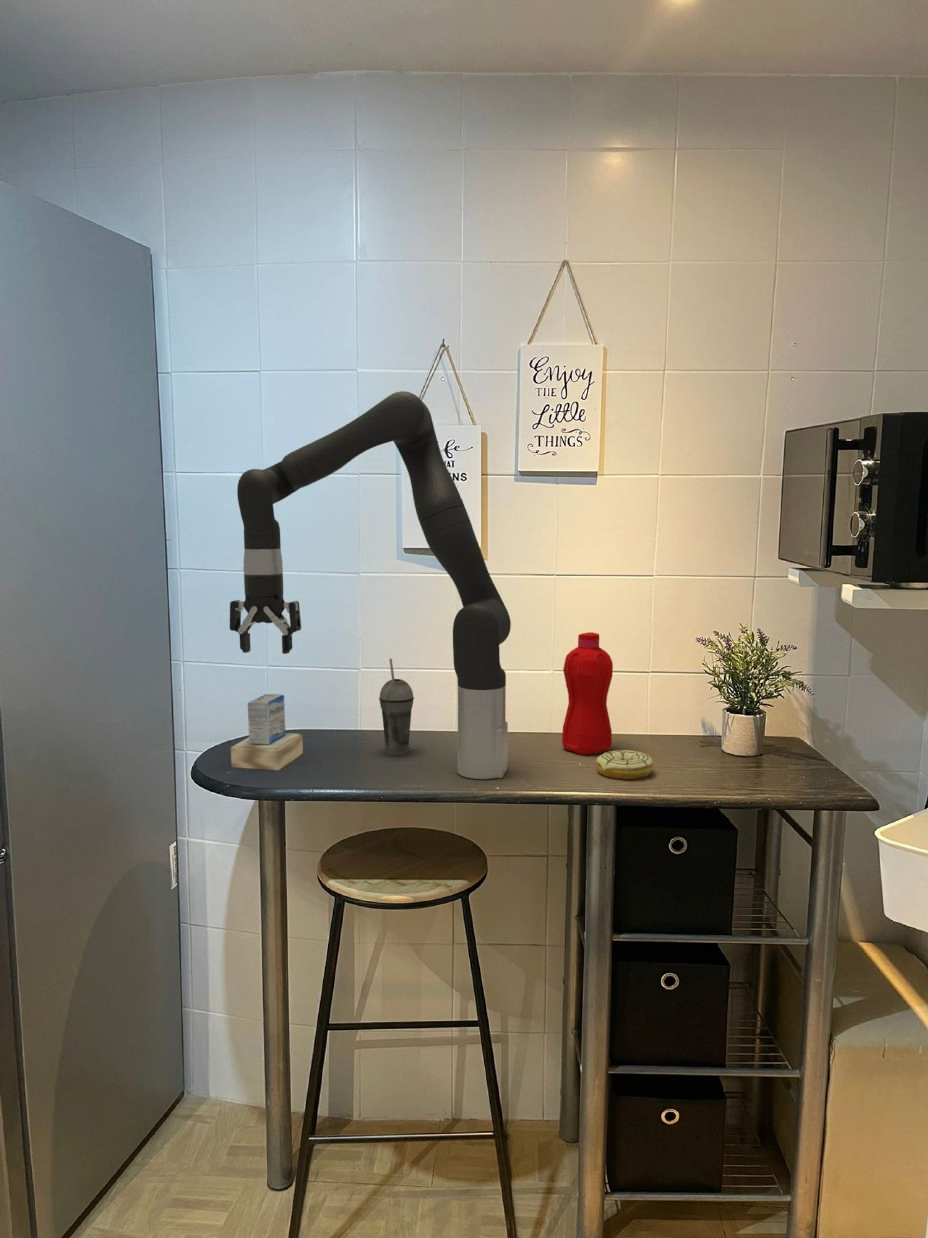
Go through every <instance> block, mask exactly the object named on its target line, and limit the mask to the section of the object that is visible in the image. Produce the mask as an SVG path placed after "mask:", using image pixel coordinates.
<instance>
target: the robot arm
mask: <svg viewBox="0 0 928 1238" xmlns="http://www.w3.org/2000/svg"><path fill="white" fill-rule="evenodd" d="M431 414H432V413H431V412H430V410H429V408H428V406H427V405H426V403H424V401H422V400H421V398H420V397H419V396H418V395H416V394H414V393H413V392H410V391H395V392H394V393H392V394H390V395H389V396H387V397H385V398H383V399H382V400H380V401H379V402H378V403H377V404H375V405H374V406H372V407H371V408H370V409H368V410H367V411H365V412H364V413H362V414H361V415H359V416H358V417H356V418H355V419H353V420H351V421H350V422H348V423H347V424H345V425H343V426H342V427H340V428H338V429H337V430H334V431H332V432H331V433H329V434H327V435H325V436H322V437H321V438H320V437H319V438H318V439H316V440H314V441H312V442H310V443H307V444H306V445H303V446H301V447H299V448H297V449H295V450H294V451H291V452H290V453H288V454H286V455H284V457H283V458H282V459H281V461H279V462H277V463H275V464H273V465H270V466H268V467H266V468H264V469H261V468H251V469H248V470H246V471H245V472H243V473H242V475H240V477H239V479H238V482H237V488H236V489H237V490H236V491H237V493H236V494H237V495H236V496H237V503H238V508H239V511H240V517H241V520H242V521H241V522H242V524H243V548H244V550H243V553H244V554H243V567H242V568H243V569H242V570H243V579H244V580H243V581H244V583H243V584H244V597H245V599H244V600H243V601H241V600H240V599H235V600H231V601H230V603H229V630H230V631H232V632H233V631H234V632H237V634H238V635H239V648H240V650H241V651H242V653H245V654H246V653H250V652H251V633H249V631H250V630H251V628H252V627H253V626H254V625H255V624H260V623H265V624H272V623H273V624H274V626H276V627H277V628H278V629H279V631H280V632H281V634H282V635H281V651H282V655H284V654H285V655H287V654H289V653H290V651H292V649H293V634H294V633H296V632H298V631H299V632H300V631H301V630H302V621H301V620H302V619H301V611H300V602H299V601H298V600H294V601H289V602H287V601H286V602H285V600H284V572H283V571H284V570H283V569H284V568H283V555H282V549H281V548H282V547H281V527H280V524H279V523H280V522H278V520H277V519H276V517H275V511H274V510H275V509H274V504H277V503H278V502H280V501H283V500H285V499H286V498H288V497H289V496H290V495H292V494H293V493H295V492H297V491H298V490H300V489H302V488H305V487H308V486H309V485H312V484H314V483H316V482H318V481H320V480H322V479H324V478H326V477H327V478H328V477H329V476H331V475H332V474H333V473H335V472H337V471H339V470H340V469H342V468H343V467H345V466H346V465H347V464H348V463H350V462H351V461H352V460H354V459H356V458H357V457H359V455H361V454H363V453H364V452H367V451H368V450H370V449H374V448H375V447H378V446H380V445H384V444H387V443H391V442H393V443H394V445H395V447H396V449H397V450H398V451H397V452H399V454H400V456H401V459H402V461H403V463H404V465H405V467H406V470H407V472H408V477H409V480H410V486H411V492H412V497H413V498H412V499H413V503H414V508H415V512H416V516H417V518H418V522H419V525H420V527H421V530H422V533H423V536H424V538H425V541H426V543H427V545H428V547H429V549H430V551H431V552H432V554H433V555H434V557H435V558H436V560H437V561H438V563H440V565H441V567H442V568H444V571H446V573H447V574H448V576H449V577H450V578H451V580H452V582H453V584H454V586H455V587H456V591H457V592H458V596H459V598H460V601H461V604H462V608H460V610H458V612H457V613H456V615H455V617H454V620H453V624H452V651H453V652H452V653H453V655H452V657H453V669H454V673H455V674H456V677H457V774H459V775H460V776H461V777H463V778H468V779H474V780H490V779H503V778H504V776H505V775H506V773H507V770H508V744H509V743H508V742H509V741H508V739H509V738H508V730H509V728H508V721H506V716H507V715H506V711H507V710H506V709H507V708H506V707H507V706H506V704H507V703H506V702H507V701H506V698H507V697H506V696H507V695H506V693H507V692H506V691H507V687H506V686H507V676H506V671H505V670H504V669H503V668H502V665H501V660H500V659H501V657H500V645H501V644H503V643H504V642H505V641H506V640H507V638H508V637H509V635H510V633H511V628H512V627H511V626H512V622H511V617H510V614H509V611H508V609H507V607H506V605H505V602H504V601H503V599H502V597H501V595H500V593H499V591H498V589H497V588H496V585H495V583H494V581H493V579H492V577H491V575H490V572H489V570H488V568H487V565H486V562H485V558H484V556H483V552H482V551H481V547H480V545H479V541H478V539H477V537H476V533H475V530H474V528H473V525H472V522H471V519H470V517H469V514H468V511H467V509H466V506H465V503H464V502H463V500H462V497H461V494H460V491H459V490H458V487H457V486H456V483H455V481H454V479H453V477H452V475H451V473H450V471H449V469H448V468H447V466H446V464H445V463H446V462H445V461H444V459H443V455H442V452H441V449H440V446H439V442H438V438H437V435H436V434H437V433H436V429H435V427H434V422H433V419H432V418H433V417H432V415H431ZM244 609H245V611H246V613H247V615H246V617H244V619H243V621H242V620H241V619H242V611H243V610H244ZM285 610H286V612H287V613H288V614H289V623H288V619H287V618H286V617H285V615H284V613H283V612H284V611H285ZM241 621H242V622H241Z"/></svg>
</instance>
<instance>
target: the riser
mask: <svg viewBox="0 0 928 1238" xmlns="http://www.w3.org/2000/svg"><path fill="white" fill-rule="evenodd" d="M303 743H304V742H303V734H300V733H291V732H290V733H288V732H287V733H286V732H285V735H284V736H283V737H281V738H279V739H278V740H276V741H275V742H273V743H272V744H270V745H262V744H250V743H249V736H248V737H247V738H245V739H243V740H241V741H239V742H238V743H236V744H233V746H231V747H230V758H231V759H230V760H231V768H237V769H238V768H239V769H252V770H268V771H281V769H283V768H284V767H286V766H287V765H289V764H290V763H291V762H293V761H294V760H296V759H297V758H298V757H300V756H302V754H303V753H304V751H303V750H304V747H303V745H304V744H303Z"/></svg>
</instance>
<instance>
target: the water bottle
mask: <svg viewBox="0 0 928 1238" xmlns="http://www.w3.org/2000/svg"><path fill="white" fill-rule="evenodd" d="M613 667H614V664H613V660H612V658H611V655H610V654H609V653H608V652H607V651H606V650H604V649H603V648H601V647H600V634H599V633H597V632H592V631H590V632H589V631H588V632H583V633H580V634H578V638H577V647H575V648H573V649H572V650H570V652H568V653H567V655H566V656H565V659H564V664H563V669H562V671H563V675H564V680H565V686H566V689H567V695H568V696H567V697H568V698H567V699H568V705H567V710H566V713H565V718H564V721H563V725H562V733H561V734H562V735H561V736H562V737H561V744H562V747H563V748H564V749H565V750H567V751H570V752H574V753H577V754H579V755H582V756H583V755H585V756H592V755H596V754H600V753H606V752H609V750H610V749H611V748H612V744H613V743H612V742H613V738H612V736H613V735H612V733H613V731H612V726H611V721H610V716H609V711H608V706H607V705H608V704H607V703H608V694H609V690H610V686H611V682H612V679H613V670H614V668H613Z"/></svg>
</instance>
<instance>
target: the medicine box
mask: <svg viewBox="0 0 928 1238" xmlns="http://www.w3.org/2000/svg"><path fill="white" fill-rule="evenodd" d="M285 711H286V710H285V695H284V694H278V693H265V694H263V695H261V696H259V697H257V698H254V699H253V700H251V701H248V702H247V718H248V720H247V721H248V737H249V743H250V744H262V745H270V744H272V743H273V742H275V741H276V740H278V739H279V738H281V737H283V736H284V735H285V733H286V714H285V713H286V712H285Z"/></svg>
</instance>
